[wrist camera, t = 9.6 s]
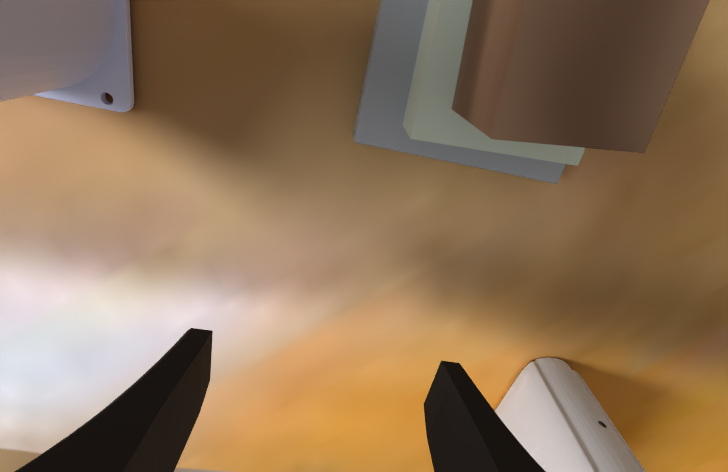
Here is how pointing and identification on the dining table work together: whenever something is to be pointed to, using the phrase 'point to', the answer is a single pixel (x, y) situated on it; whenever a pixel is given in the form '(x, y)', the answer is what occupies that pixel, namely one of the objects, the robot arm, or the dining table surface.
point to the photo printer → (563, 421)
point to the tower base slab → (391, 90)
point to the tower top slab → (437, 88)
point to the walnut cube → (573, 69)
